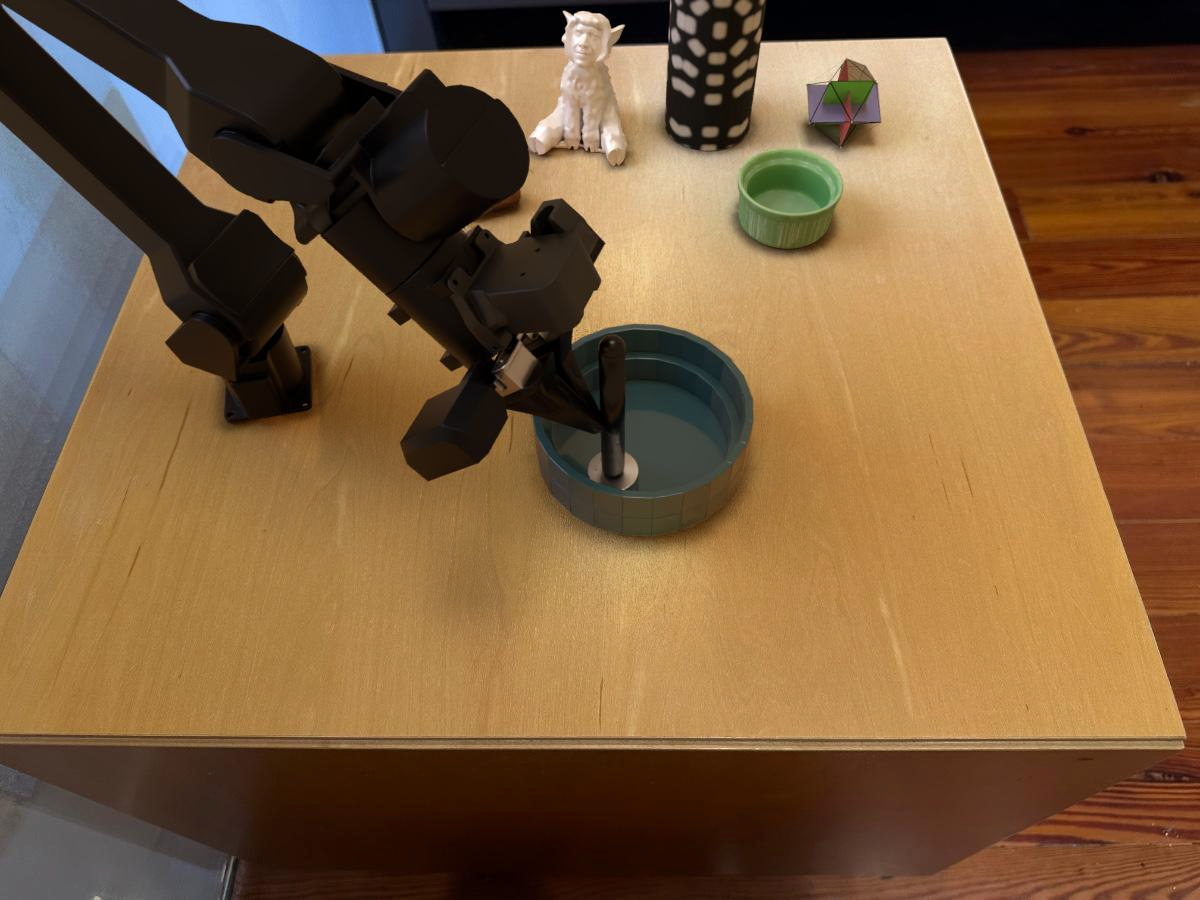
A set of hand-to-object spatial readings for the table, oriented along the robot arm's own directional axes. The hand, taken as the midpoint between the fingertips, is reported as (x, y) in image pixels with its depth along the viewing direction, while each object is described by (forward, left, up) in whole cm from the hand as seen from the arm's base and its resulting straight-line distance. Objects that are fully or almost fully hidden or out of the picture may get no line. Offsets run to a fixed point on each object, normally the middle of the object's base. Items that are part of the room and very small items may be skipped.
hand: (601, 430), depth 59 cm
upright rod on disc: (-1, +1, -7) cm, 7 cm away
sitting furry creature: (-42, +7, -8) cm, 43 cm away
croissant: (-35, -7, -8) cm, 36 cm away
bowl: (-4, +4, -8) cm, 10 cm away
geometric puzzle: (-37, +31, -8) cm, 48 cm away
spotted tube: (-41, +19, -8) cm, 45 cm away
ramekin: (-26, +22, -8) cm, 34 cm away
